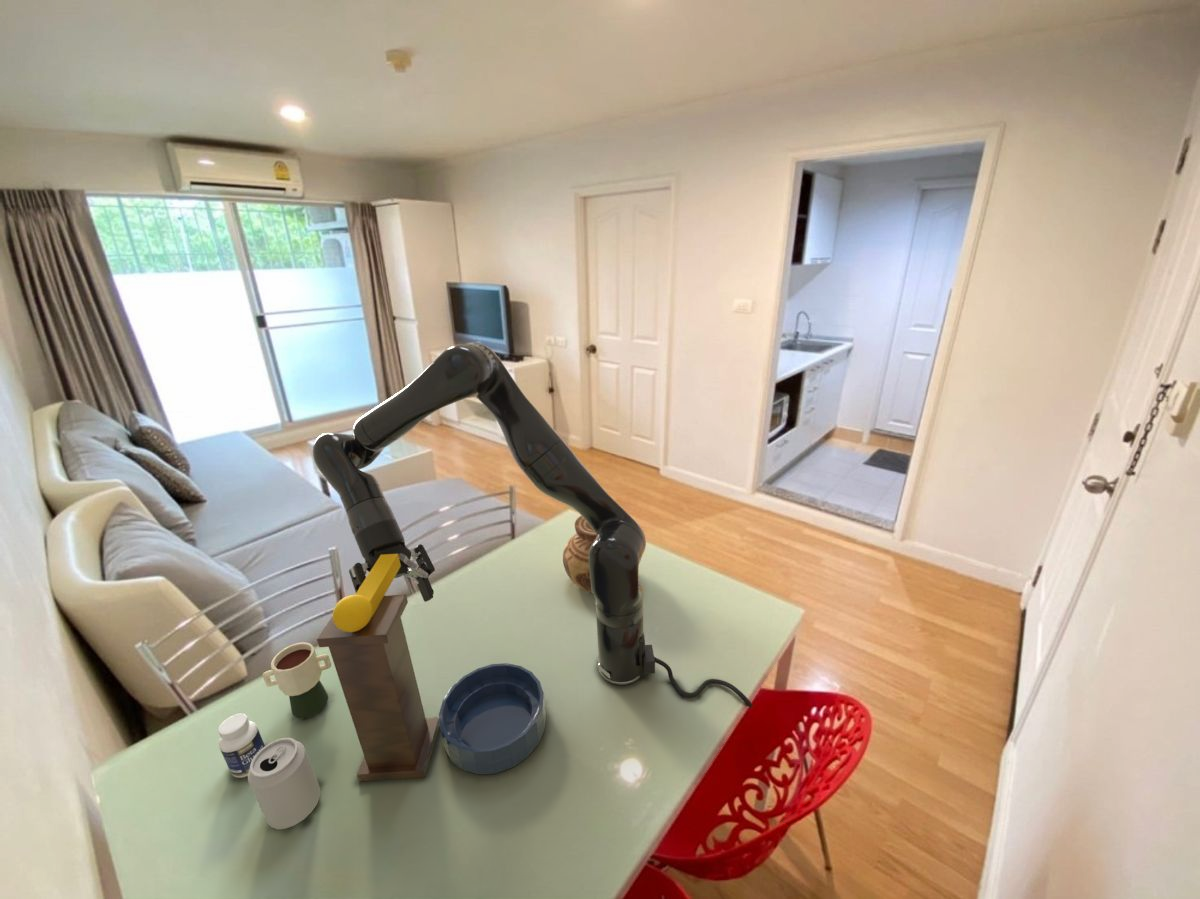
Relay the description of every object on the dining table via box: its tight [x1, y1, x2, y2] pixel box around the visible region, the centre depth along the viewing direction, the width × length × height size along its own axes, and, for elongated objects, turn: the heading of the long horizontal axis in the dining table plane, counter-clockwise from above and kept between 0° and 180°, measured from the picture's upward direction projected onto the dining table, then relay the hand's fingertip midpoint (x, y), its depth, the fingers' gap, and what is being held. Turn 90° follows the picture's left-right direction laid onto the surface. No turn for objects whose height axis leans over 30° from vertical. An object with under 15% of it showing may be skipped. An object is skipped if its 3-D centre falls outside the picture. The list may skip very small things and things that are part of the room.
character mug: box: [262, 641, 332, 720], centre depth 93 cm, size 11×7×13 cm, turn 113°
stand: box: [316, 594, 440, 782], centre depth 81 cm, size 11×10×30 cm
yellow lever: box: [332, 554, 401, 632], centre depth 77 cm, size 5×18×5 cm, turn 2°
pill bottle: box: [217, 713, 266, 779], centre depth 84 cm, size 5×5×10 cm
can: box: [247, 737, 322, 830], centre depth 76 cm, size 8×8×12 cm
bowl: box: [438, 662, 547, 775], centre depth 89 cm, size 18×18×6 cm
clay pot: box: [562, 514, 597, 593], centre depth 125 cm, size 19×19×20 cm
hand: (409, 608), depth 88 cm, fingers open, 8 cm apart
